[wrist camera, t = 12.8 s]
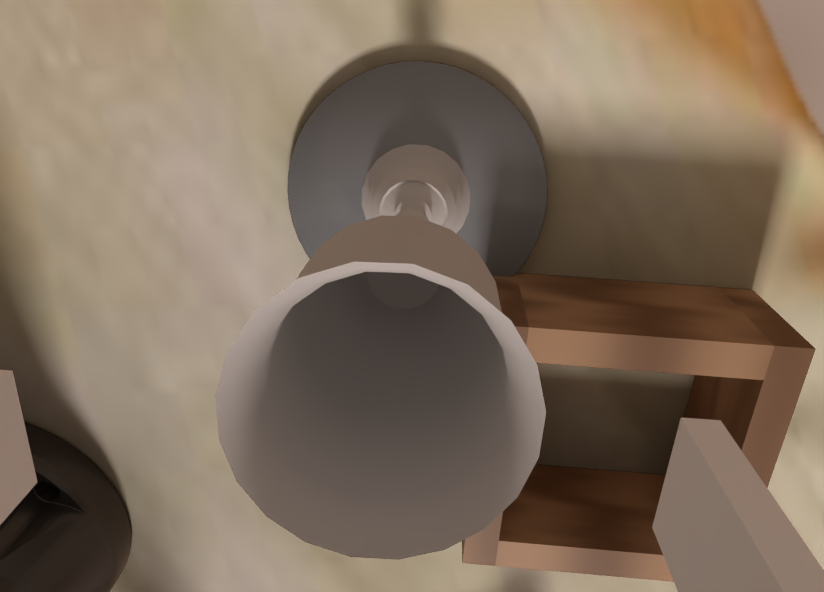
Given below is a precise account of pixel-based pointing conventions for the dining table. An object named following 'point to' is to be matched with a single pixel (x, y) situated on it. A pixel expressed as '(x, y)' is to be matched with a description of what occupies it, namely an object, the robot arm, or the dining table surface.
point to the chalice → (385, 379)
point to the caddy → (643, 351)
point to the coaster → (422, 125)
